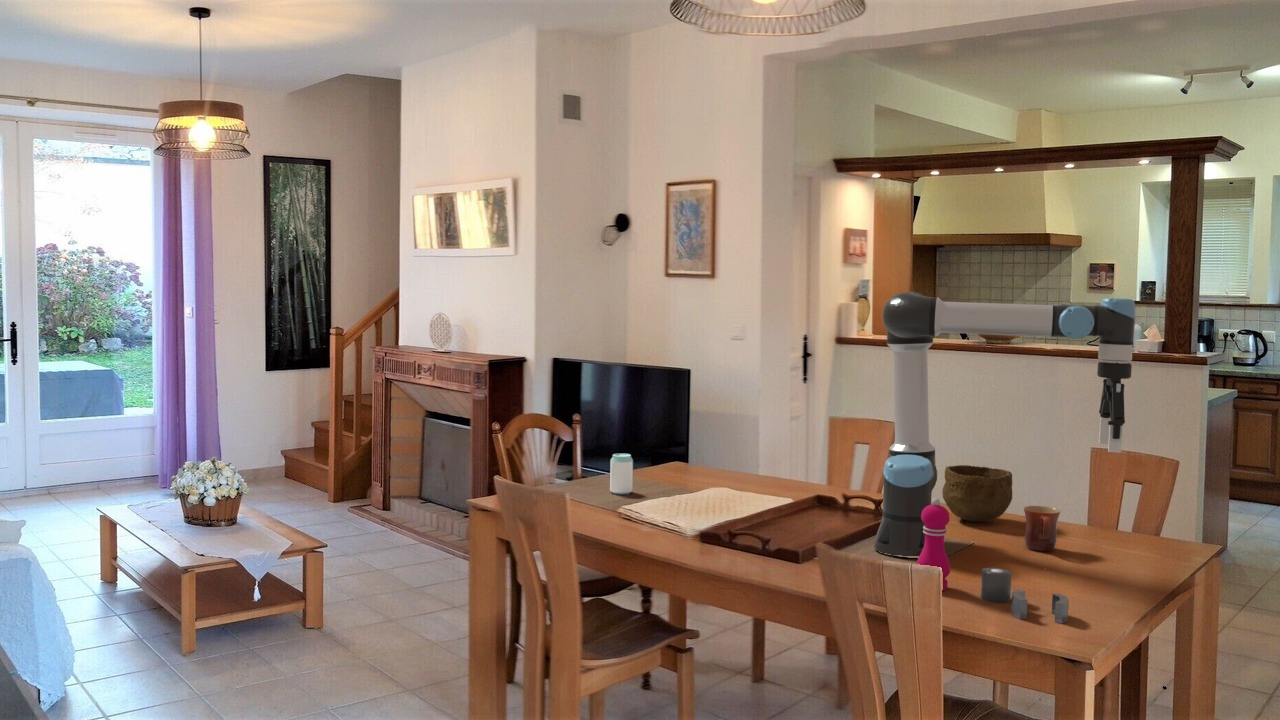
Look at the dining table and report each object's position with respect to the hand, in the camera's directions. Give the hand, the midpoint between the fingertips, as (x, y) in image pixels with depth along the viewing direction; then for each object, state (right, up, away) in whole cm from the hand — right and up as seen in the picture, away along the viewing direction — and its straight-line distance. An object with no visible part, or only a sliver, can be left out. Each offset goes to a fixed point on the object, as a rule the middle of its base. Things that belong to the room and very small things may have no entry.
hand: (1109, 448), depth 252 cm
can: (-121, -20, +70) cm, 142 cm away
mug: (-13, -27, +8) cm, 31 cm away
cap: (-39, -29, -33) cm, 59 cm away
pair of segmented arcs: (-34, -30, -44) cm, 63 cm away
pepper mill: (-51, -29, -25) cm, 64 cm away
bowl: (-20, -24, +39) cm, 51 cm away
